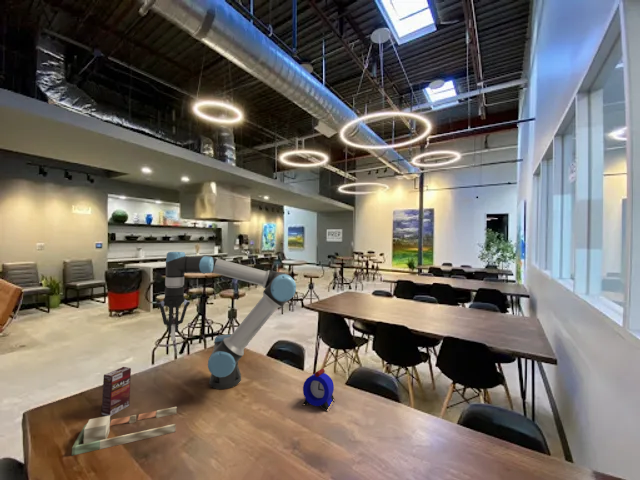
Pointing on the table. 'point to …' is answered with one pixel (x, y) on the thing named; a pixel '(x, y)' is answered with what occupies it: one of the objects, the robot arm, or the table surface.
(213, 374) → the robot arm
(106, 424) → the cream white block
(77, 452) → the channel
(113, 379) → the supplement box
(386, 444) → the table surface
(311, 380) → the alarm clock
